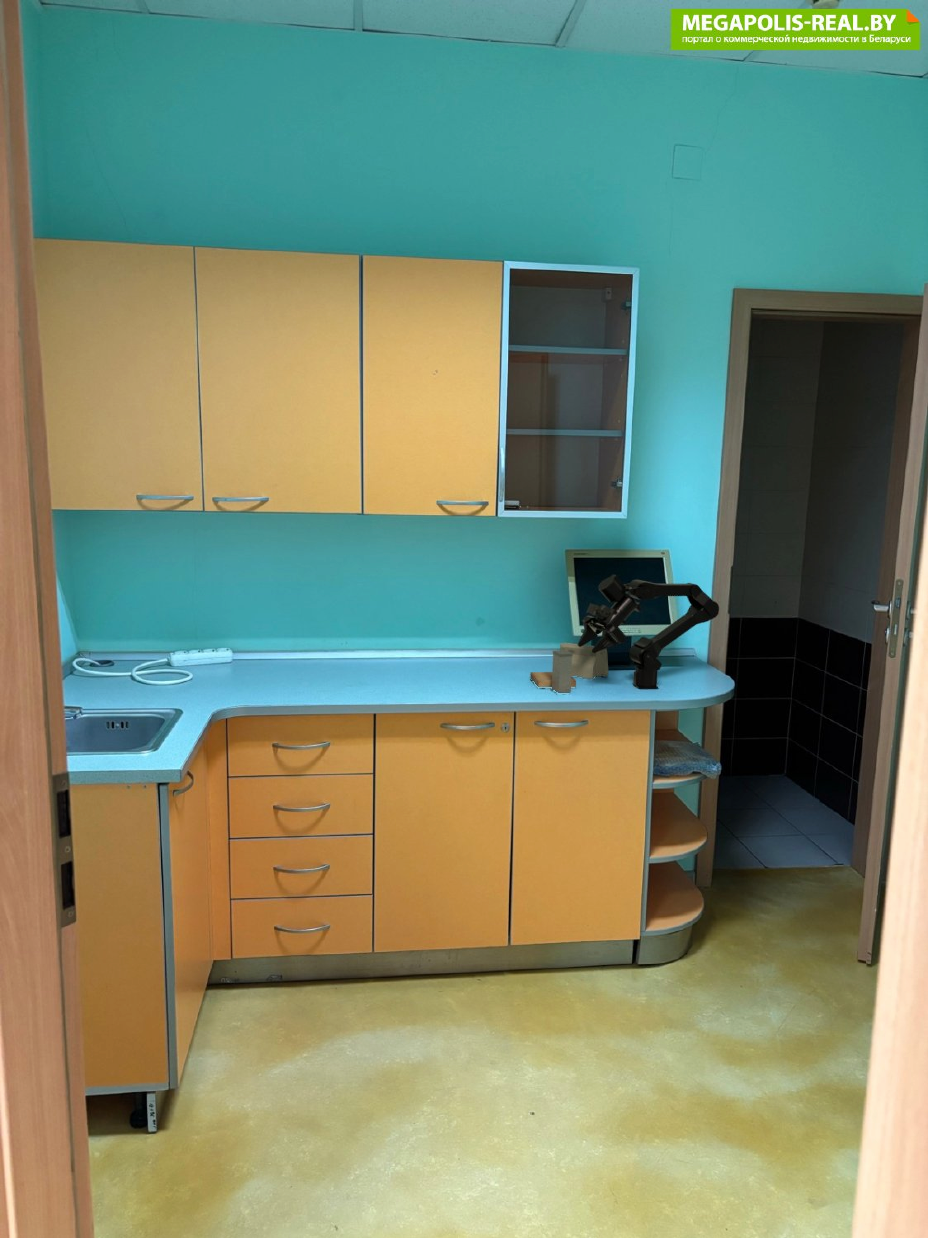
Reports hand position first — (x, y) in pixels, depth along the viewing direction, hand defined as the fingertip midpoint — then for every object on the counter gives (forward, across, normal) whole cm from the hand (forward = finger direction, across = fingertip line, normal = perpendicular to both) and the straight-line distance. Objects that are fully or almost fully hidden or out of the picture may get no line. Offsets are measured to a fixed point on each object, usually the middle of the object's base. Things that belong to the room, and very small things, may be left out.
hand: (585, 649), depth 287 cm
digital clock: (+3, -19, +16) cm, 25 cm away
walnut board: (+13, -11, +6) cm, 18 cm away
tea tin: (+15, 0, +4) cm, 15 cm away
